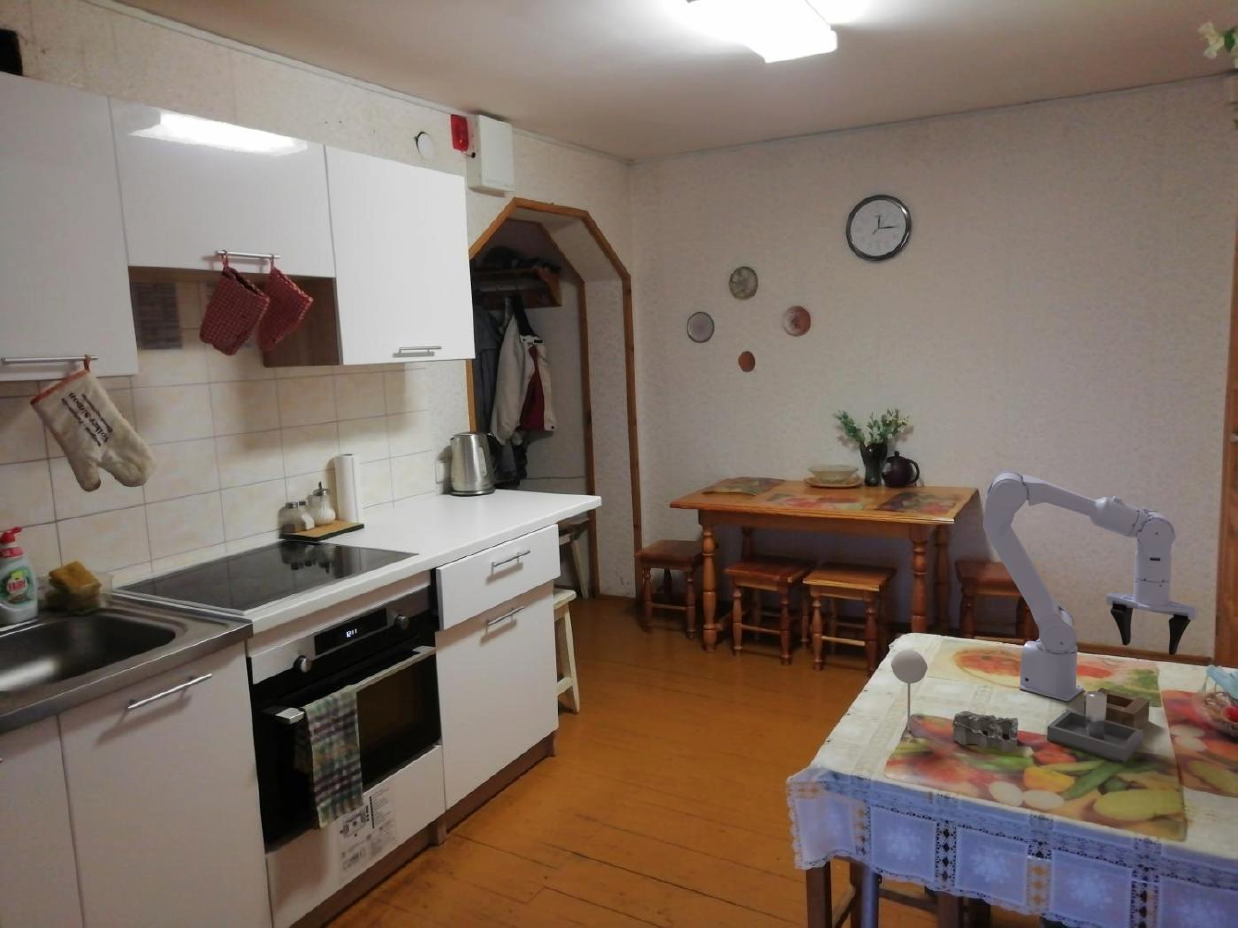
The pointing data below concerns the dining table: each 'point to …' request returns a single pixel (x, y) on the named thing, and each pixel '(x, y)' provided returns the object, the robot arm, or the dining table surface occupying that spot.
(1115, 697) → the holder
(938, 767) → the dining table surface
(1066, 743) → the tray
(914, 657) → the lollipop
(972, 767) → the dining table surface
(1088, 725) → the pin
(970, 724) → the egg carton
